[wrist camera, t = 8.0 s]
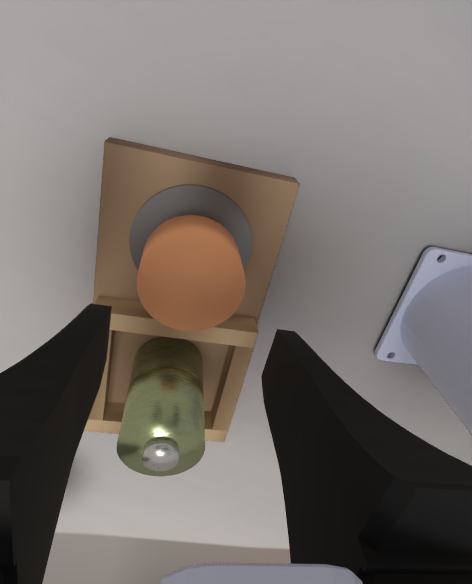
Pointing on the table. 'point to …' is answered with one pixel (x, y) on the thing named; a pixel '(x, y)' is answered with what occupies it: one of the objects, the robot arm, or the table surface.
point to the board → (129, 248)
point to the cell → (164, 409)
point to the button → (191, 274)
